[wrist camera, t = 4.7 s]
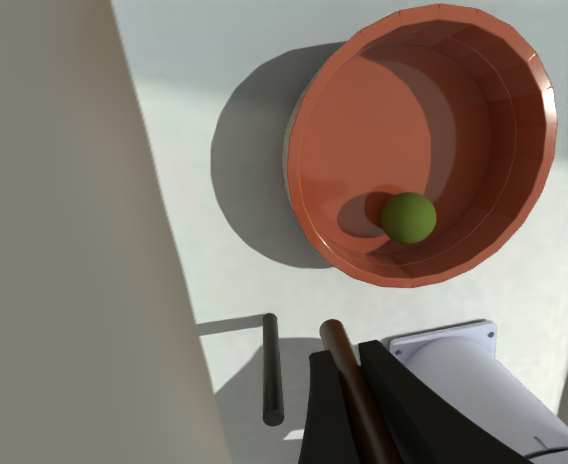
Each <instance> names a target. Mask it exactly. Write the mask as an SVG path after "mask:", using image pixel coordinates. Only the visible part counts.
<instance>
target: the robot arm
mask: <svg viewBox="0 0 568 464" xmlns="http://www.w3.org/2000/svg"><path fill="white" fill-rule="evenodd" d="M489 332H490V333H489ZM488 333H489V334H488ZM496 340H497V325H496V324H495V323H494V322H493V321H484V322H478V323H473V324H468V325H463V326H458V327H453V328H448V329H442V330H437V331H432V332H427V333H422V334H417V335H412V336H406V337H401V338H396V339H393V340H392V341H391V342H390V352H389V351H388V350H387V349H386V348H385V347H384V346H383V345H382V344H381V343H380V342H379V341H378V340H373V341H368V342H363V343H358V346H359V354H360V362H361V367H362V369H363V372H364V374H365V376H366V378H367V381H368V383H369V385H370V388H371V390H372V392H373V394H374V396H375V399H376V401H377V403H378V406H379V408H380V410H381V412H382V415H383V417H384V419H385V422H386V424H387V426H388V428H389V431H390V433H391V435H392V438H393V440H394V442H395V444H396V447H397V449H398V451H399V453H400V456H401V458H402V460H403V463H404V464H568V427H567V426H566V425H565V424H564V423H563V422H562V421H561V420H560V419H559V418H558V417H557V416H556V415H555V414H554V413H552V412H551V411H550V410H549V409H548V408H547V407H546V406H545V405H544V404H543V403H542V402H541V401H540V400H539V399H538V398H537V397H536V396H535V395H534V394H533V393H532V392H530V391H529V390H528V389H527V388H526V387H525V386H524V385H523V384H522V383H521V382H520V381H519V380H518V379H517V378H516V377H515V376H514V375H513V374H512V373H511V372H510V371H508V370H507V369H506V368H505V367H504V366H503V365H502V364H501V363H500V362H499V361H498V360H497V359H496V358H495V357H496ZM397 350H399V351H397ZM396 351H397V352H396ZM309 361H310V391H309V401H308V410H307V418H306V424H305V430H304V435H303V441H302V447H301V452H300V456H299V461H298V464H360V460H359V457H358V454H357V451H356V448H355V445H354V442H353V438H352V434H351V430H350V427H349V422H348V417H347V413H346V408H345V403H344V399H343V394H342V389H341V385H340V380H339V375H338V371H337V366H336V364H335V361H334V358H333V356H332V353H331V351H330V350H325V351H320V352H316V353H312V354H311V355H310V356H309Z"/></svg>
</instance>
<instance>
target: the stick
mask: <svg viewBox="0 0 568 464" xmlns="http://www.w3.org/2000/svg"><path fill="white" fill-rule="evenodd" d="M319 332H320V336H321V339H322V343H323V346H324V349H325V350H330V351H331V353H332V356H333V358H334V361H335V364H336V366H337V371H338V375H339V380H340V385H341V389H342V394H343V399H344V403H345V408H346V413H347V417H348V422H349V427H350V430H351V434H352V438H353V442H354V445H355V448H356V451H357V454H358V457H359V460H360V464H404V463H403V460H402V458H401V456H400V453H399V451H398V449H397V447H396V444H395V442H394V440H393V438H392V435H391V433H390V431H389V428H388V426H387V424H386V422H385V419H384V417H383V415H382V412H381V410H380V408H379V406H378V403H377V401H376V399H375V396H374V394H373V392H372V390H371V388H370V385H369V383H368V381H367V378H366V376H365V374H364V372H363V369H362V367H361V365H360V362H359V360H358V358H357V355H356V353H355V351H354V349H353V346H352V344H351V342H350V339H349V337H348V335H347V333H346V330H345V328H344V326H343V324H342V323H341V322H340V321H338V320H336V319H330V320H327V321H325V322H324V323H323V324H322V325H321V327H320V331H319Z"/></svg>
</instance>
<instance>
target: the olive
mask: <svg viewBox="0 0 568 464" xmlns="http://www.w3.org/2000/svg"><path fill="white" fill-rule="evenodd" d="M380 221H381V226H382V228H383V230H384V232H385V233H386V235H387V236H388V237H390V238H391V239H392V240H394V241H396V242H399V243H403V244H412V243H417V242H420V241H422V240H423V239H425V238H426V237H427V236H429V234H430V233H431V232H432V231H433V229H434V227H435V224H436V212H435V208H434V206H433V205H432V203H431V202H430V201H429V200H428V199H427V198H426V197H424V196H423V195H420V194H418V193H414V192H404V193H400V194H397V195H395V196H393V197H392V198H390V199H389V200H388V201H387V202H386V203H385V205H384V206H383V208H382V211H381V215H380Z"/></svg>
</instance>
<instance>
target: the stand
mask: <svg viewBox="0 0 568 464" xmlns="http://www.w3.org/2000/svg"><path fill="white" fill-rule="evenodd" d="M263 421H264V423H265V424H266V425H268V426H272V427H274V426H278V425H280V424H281V423H282V422H283V421H284V404H283V391H282V378H281V364H280V351H279V338H278V325H277V317H276V316H275V315H274V314H267V315H265V316H264V318H263Z"/></svg>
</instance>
